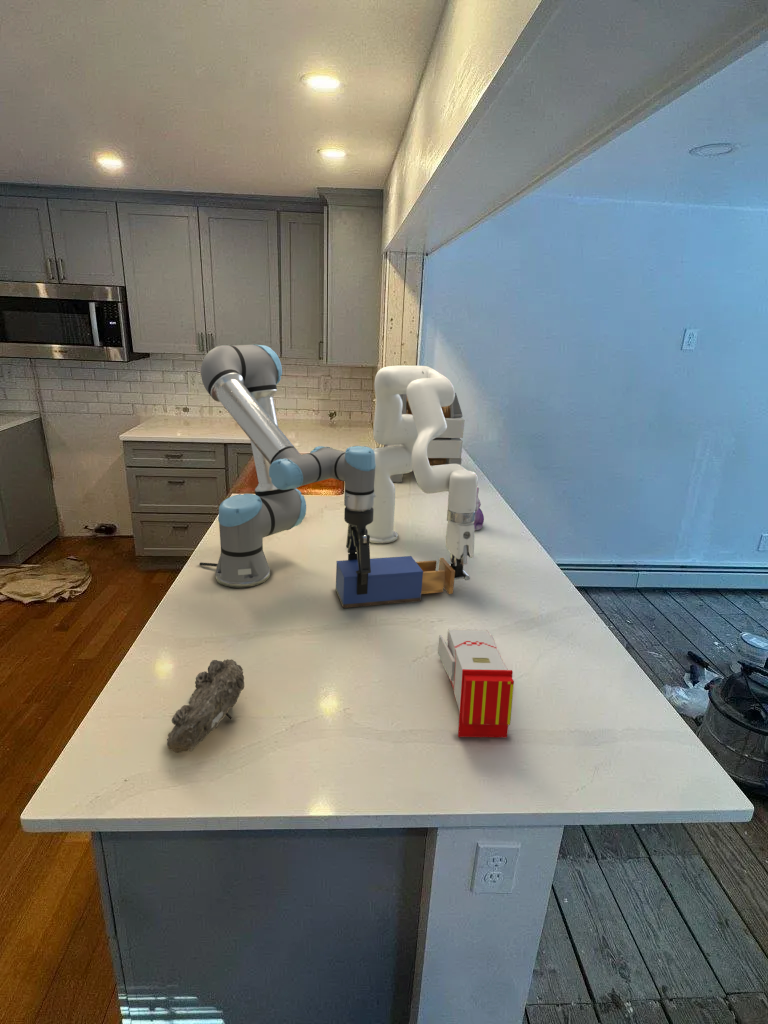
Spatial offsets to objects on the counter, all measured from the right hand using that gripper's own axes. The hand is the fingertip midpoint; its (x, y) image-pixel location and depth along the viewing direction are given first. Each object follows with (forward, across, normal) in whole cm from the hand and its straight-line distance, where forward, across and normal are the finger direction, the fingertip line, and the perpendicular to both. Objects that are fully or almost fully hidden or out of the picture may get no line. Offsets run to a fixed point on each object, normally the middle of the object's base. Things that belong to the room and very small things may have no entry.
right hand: (456, 576), depth 160 cm
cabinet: (+4, +1, +23) cm, 23 cm away
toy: (+5, -43, +15) cm, 46 cm away
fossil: (+5, -40, +66) cm, 77 cm away
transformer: (+2, +117, -30) cm, 121 cm away
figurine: (+3, +45, -25) cm, 52 cm away
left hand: (0, +1, +28) cm, 29 cm away
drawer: (+3, +1, +10) cm, 10 cm away
